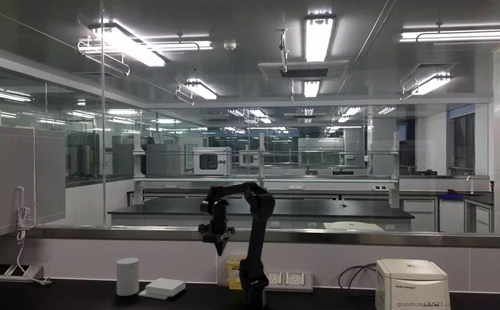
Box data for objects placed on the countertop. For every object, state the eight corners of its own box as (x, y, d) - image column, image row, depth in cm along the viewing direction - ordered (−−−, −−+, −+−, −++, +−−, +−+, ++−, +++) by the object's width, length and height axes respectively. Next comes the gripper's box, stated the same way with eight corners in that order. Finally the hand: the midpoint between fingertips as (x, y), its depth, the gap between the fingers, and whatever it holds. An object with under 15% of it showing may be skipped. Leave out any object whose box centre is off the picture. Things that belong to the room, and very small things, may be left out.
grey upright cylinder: (131, 296, 121) (131, 264, 121) (112, 295, 122) (112, 263, 123) (142, 288, 128) (142, 258, 129) (124, 286, 130) (124, 257, 130)
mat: (179, 289, 127) (179, 287, 127) (164, 299, 117) (164, 297, 117) (154, 285, 131) (154, 284, 131) (138, 295, 121) (138, 293, 121)
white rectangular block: (185, 281, 126) (159, 278, 130) (172, 289, 118) (145, 286, 122) (185, 288, 126) (159, 284, 130) (172, 296, 118) (145, 293, 122)
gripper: (211, 212, 138) (212, 248, 138) (189, 219, 121) (190, 261, 120) (235, 213, 135) (236, 250, 134) (216, 220, 117) (216, 263, 117)
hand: (220, 256), depth 126 cm, fingers closed
